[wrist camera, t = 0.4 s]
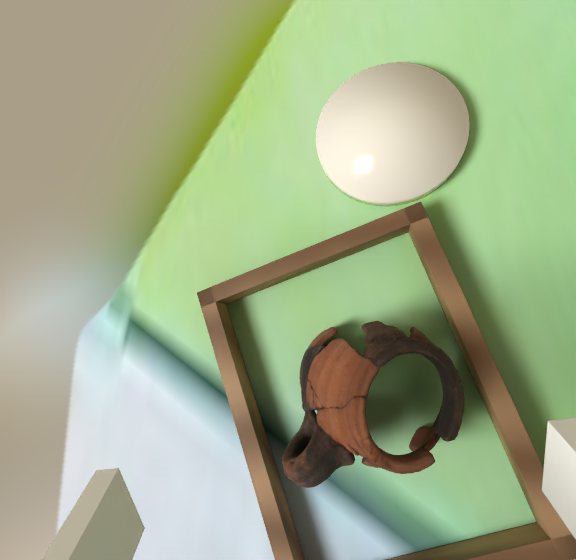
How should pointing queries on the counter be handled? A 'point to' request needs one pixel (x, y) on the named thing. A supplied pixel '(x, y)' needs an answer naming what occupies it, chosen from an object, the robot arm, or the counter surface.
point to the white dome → (392, 133)
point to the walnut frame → (549, 526)
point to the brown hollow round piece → (362, 405)
